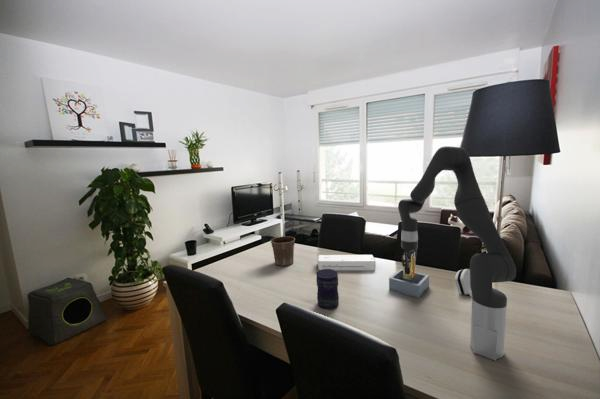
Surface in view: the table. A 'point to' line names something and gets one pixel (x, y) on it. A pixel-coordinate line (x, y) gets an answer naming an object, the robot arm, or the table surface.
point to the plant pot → (283, 250)
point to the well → (409, 284)
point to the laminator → (346, 262)
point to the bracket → (412, 270)
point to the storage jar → (327, 289)
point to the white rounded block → (463, 282)
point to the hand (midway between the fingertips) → (409, 271)
